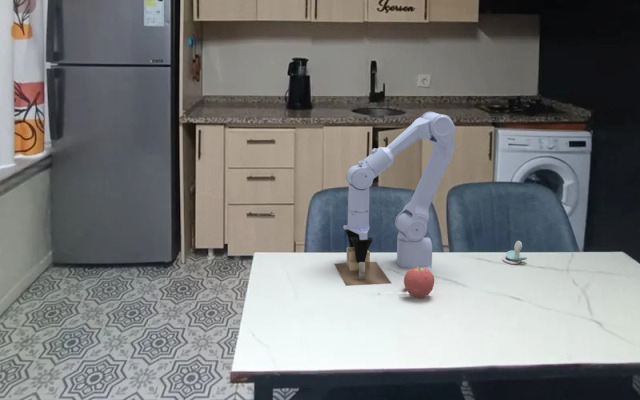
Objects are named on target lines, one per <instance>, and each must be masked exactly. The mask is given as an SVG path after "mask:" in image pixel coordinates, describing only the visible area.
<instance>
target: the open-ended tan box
mask: <svg viewBox="0 0 640 400" xmlns="http://www.w3.org/2000/svg"><path fill="white" fill-rule="evenodd" d="M370 259H371V252H370V251H369V249H368V251H367V255H366V259H365V270H370V262H371V260H370ZM346 263H347V266H348V268H349V270H350V271H355V270H359V263H357V261H356V257H355V249H354V247H350V246H348V247H346Z"/></svg>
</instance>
